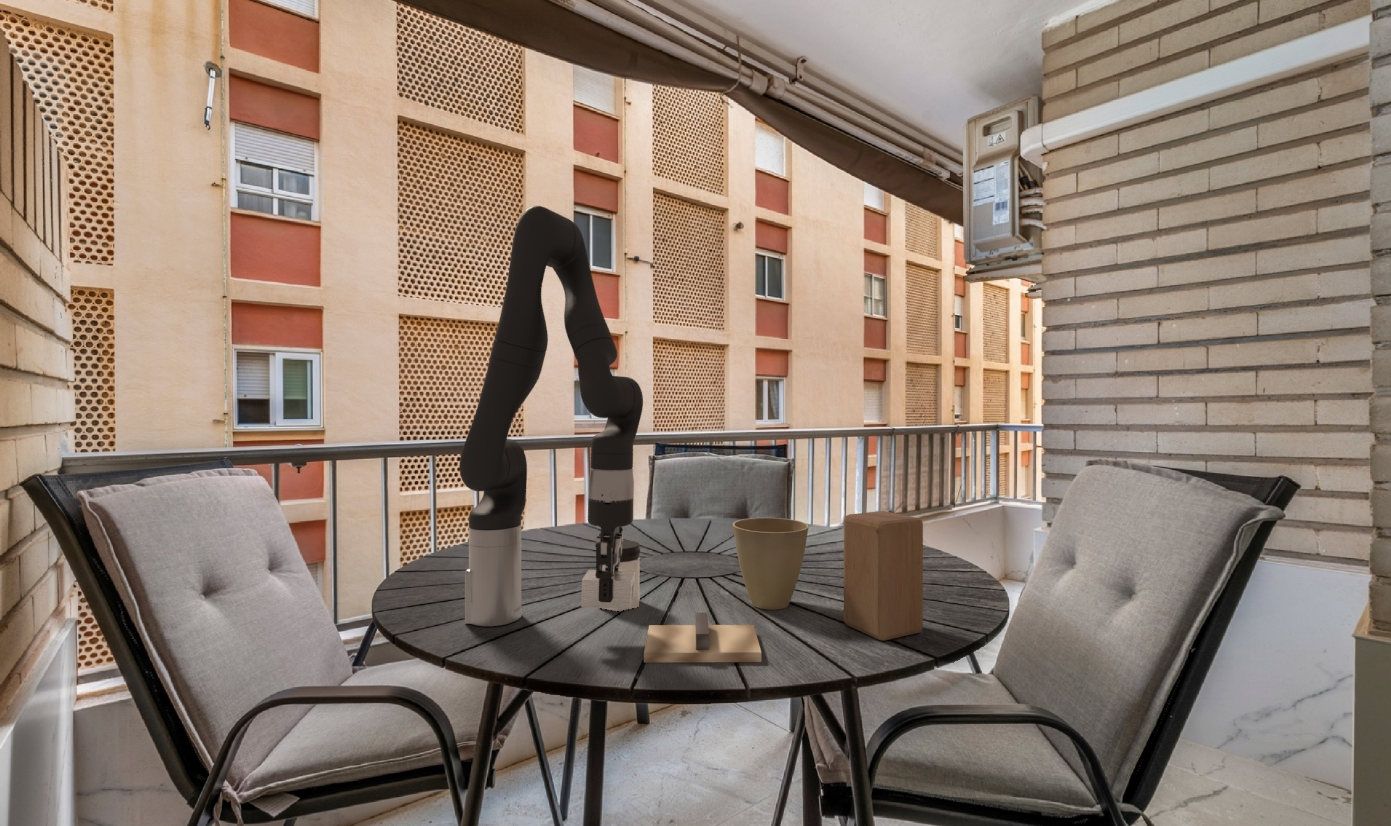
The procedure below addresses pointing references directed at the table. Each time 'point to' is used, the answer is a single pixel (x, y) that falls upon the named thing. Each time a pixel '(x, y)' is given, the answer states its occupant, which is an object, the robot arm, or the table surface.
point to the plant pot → (770, 558)
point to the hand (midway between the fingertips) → (608, 594)
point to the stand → (702, 643)
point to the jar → (630, 569)
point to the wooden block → (883, 574)
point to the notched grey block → (621, 590)
